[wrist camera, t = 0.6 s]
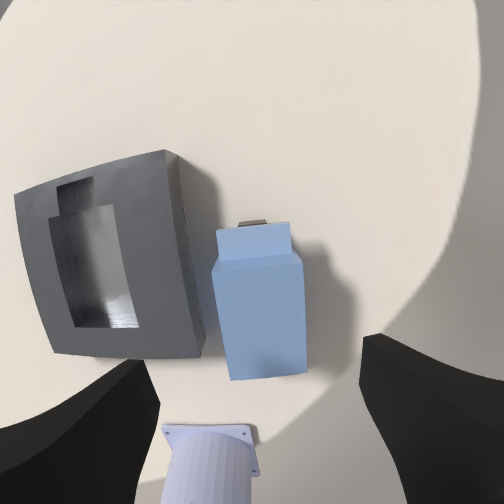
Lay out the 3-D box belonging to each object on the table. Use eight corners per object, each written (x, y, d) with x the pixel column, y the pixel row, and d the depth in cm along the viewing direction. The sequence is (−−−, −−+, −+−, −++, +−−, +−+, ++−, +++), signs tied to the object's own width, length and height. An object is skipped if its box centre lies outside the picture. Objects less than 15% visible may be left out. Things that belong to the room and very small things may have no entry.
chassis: (205, 337, 18) (200, 357, 16) (69, 338, 18) (54, 352, 16) (176, 154, 15) (164, 149, 13) (35, 192, 16) (13, 194, 13)
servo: (294, 346, 18) (306, 392, 14) (237, 352, 19) (234, 400, 14) (285, 216, 16) (300, 228, 12) (218, 223, 17) (205, 238, 12)
